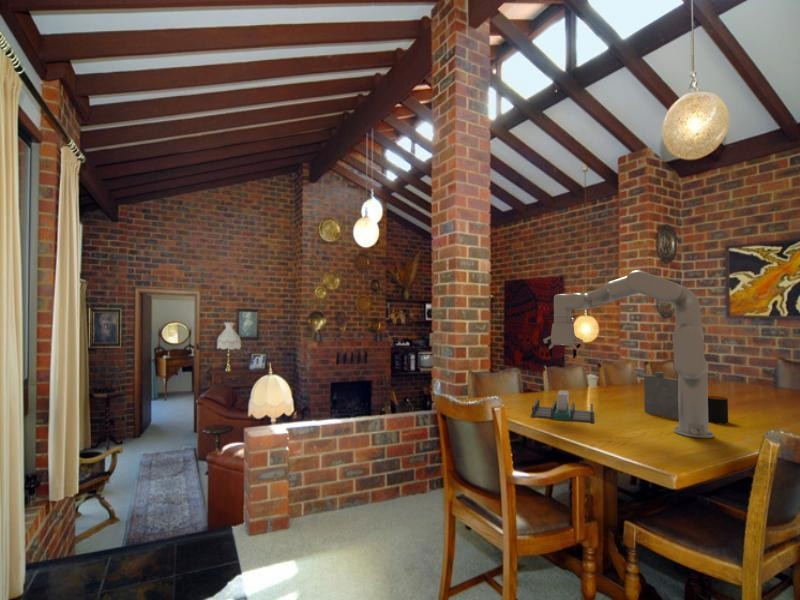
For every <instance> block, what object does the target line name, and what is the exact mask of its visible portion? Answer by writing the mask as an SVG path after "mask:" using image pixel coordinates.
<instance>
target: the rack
mask: <svg viewBox="0 0 800 600" xmlns="http://www.w3.org/2000/svg"><path fill="white" fill-rule="evenodd" d="M575 407H576V406H575V402H574V401H572V402H571V405H570V408H569V411H568V413H558V406H557V400H554V401H553V403H552V405H551V407H550V406H549V407H547V406H540V399H539V398H538V399H536V401H534V404H533V405H532V407H531V414H530V418H539V419H541V418H542V419H550V420H556V421H557V420H558V421H564V420H565V421H566V422H578V421H580V422H581V423H589V422H590V423H591V424H595V411H594V403H590V407H589V410H583V409H582V410H581V409H575ZM565 421H564V422H565ZM590 423H589V424H590Z"/></svg>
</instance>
